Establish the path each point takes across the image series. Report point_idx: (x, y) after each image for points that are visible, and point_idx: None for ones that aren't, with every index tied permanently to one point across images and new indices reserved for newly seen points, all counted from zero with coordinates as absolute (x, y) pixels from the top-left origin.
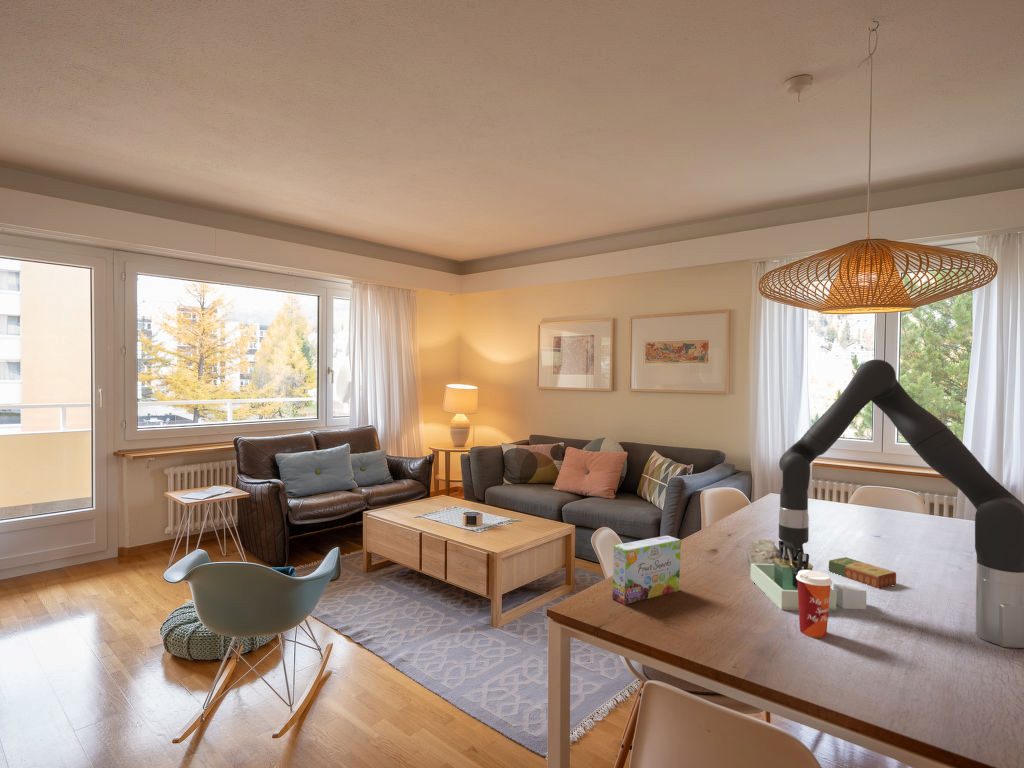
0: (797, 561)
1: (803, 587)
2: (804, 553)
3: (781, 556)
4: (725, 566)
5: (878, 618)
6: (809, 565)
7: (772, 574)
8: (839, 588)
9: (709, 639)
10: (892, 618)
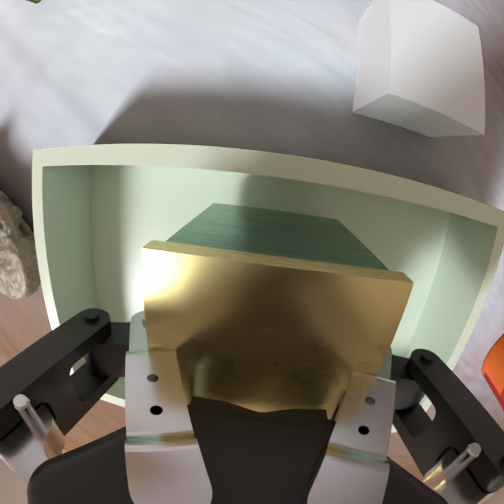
0: (421, 468)
1: None
2: (486, 495)
3: (100, 395)
4: (18, 339)
5: (495, 87)
6: (392, 317)
7: (84, 286)
8: (451, 120)
9: (423, 479)
10: (487, 44)
